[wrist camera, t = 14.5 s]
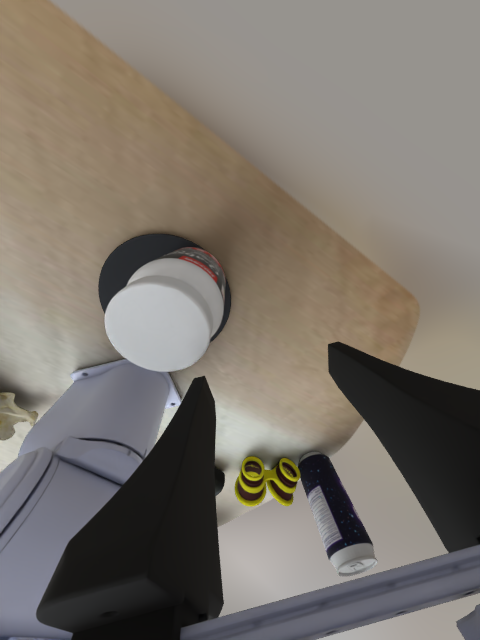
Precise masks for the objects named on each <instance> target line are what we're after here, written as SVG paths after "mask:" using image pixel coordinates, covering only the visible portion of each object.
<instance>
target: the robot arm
mask: <svg viewBox="0 0 480 640" xmlns="http://www.w3.org/2000/svg"><path fill="white" fill-rule="evenodd" d="M328 365H329V373H330V375H331V377H332V378H333V380H334V381H335V383H336V384H337V386H338V388H339V389H340V390H341V391H342V393H343V394H344V395H345V396H346V398H347V399H348V400H349V401H350V402H351V404H352V405H353V406H354V407H355V409H356V410H357V411H358V412H359V413H360V415H361V416H362V417H363V418H364V420H365V421H366V422H367V423H368V425H369V426H370V427H371V429H372V430H373V431H374V432H375V434H376V436H377V437H378V438H379V440H380V441H381V443H382V444H383V446H384V447H385V449H386V450H387V452H388V453H389V455H390V456H391V458H392V460H393V461H394V462H395V464H396V466H397V467H398V469H399V470H400V472H401V473H402V475H403V477H404V478H405V480H406V482H407V483H408V484H409V486H410V488H411V489H412V491H413V493H414V494H415V496H416V498H417V499H418V501H419V503H420V504H421V506H422V508H423V509H424V511H425V513H426V515H427V516H428V518H429V520H430V521H431V523H432V525H433V527H434V528H435V530H436V531H437V533H438V535H439V537H440V539H441V541H442V542H443V544H444V546H445V548H446V549H447V551H448V552H449V553H448V554H444V555H441V556H437V557H433V558H430V559H426V560H423V561H419V562H416V563H412V564H409V565H405V566H401V567H398V568H394V569H390V570H387V571H383V572H380V573H376V574H373V575H369V576H365V577H362V578H358V579H355V580H351V581H347V582H344V583H340V584H337V585H334V586H330V587H326V588H323V589H319V590H315V591H312V592H308V593H304V594H301V595H298V596H294V597H290V598H287V599H283V600H279V601H276V602H272V603H269V604H265V605H261V606H258V607H255V608H251V609H247V610H244V611H240V612H237V613H233V614H229V615H226V616H222V617H218V616H219V614H220V612H221V610H222V607H223V604H224V601H223V591H222V579H221V568H220V557H219V543H218V529H217V514H216V497H215V476H214V461H215V435H216V412H215V401H214V398H213V396H212V393H211V391H210V388H209V385H208V383H207V380H206V378H205V376H202V377H198V378H194V380H193V381H192V383H191V385H190V387H189V389H188V391H187V393H186V395H185V397H184V399H183V401H182V403H181V398H180V396H179V394H178V392H177V390H176V388H175V385H174V383H173V381H172V379H171V377H170V375H169V373H168V372H159V371H153V370H149V369H145V368H143V367H140V366H138V365H136V364H134V363H132V362H130V361H129V360H127V359H123V360H119V361H114V362H110V363H106V364H102V365H98V366H94V367H90V368H85V369H81V370H77V371H74V372H73V373H72V374H71V378H72V379H73V381H74V383H73V384H72V385H71V386H70V387H69V388H68V389H67V391H66V392H65V393H64V394H63V395H62V396H61V397H60V398H59V399H58V400H57V401H56V402H55V404H54V405H53V406H52V407H51V408H50V409H49V410H48V411H47V412H46V413H45V414H44V415H43V416H42V418H41V419H40V420H39V421H38V422H37V423H36V424H35V425H34V426H33V427H32V429H31V430H30V431H29V432H28V434H27V436H26V437H25V439H24V441H23V443H22V445H21V448H20V451H19V454H18V458H17V459H15V460H14V461H13V462H12V463H11V464H9V465H8V466H7V467H6V468H5V469H4V470H3V471H1V472H0V640H316V639H319V638H323V637H326V636H330V635H333V634H336V633H340V632H344V631H347V630H351V629H354V628H358V627H362V626H365V625H369V624H372V623H376V622H379V621H382V620H386V619H390V618H393V617H397V616H400V615H404V614H407V613H410V612H414V611H418V610H421V609H425V608H428V607H432V606H436V605H439V604H443V603H446V602H449V601H453V600H457V599H460V598H463V597H467V596H471V595H474V594H478V593H480V390H476V389H472V388H467V387H464V386H459V385H456V384H452V383H448V382H444V381H441V380H437V379H434V378H431V377H428V376H424V375H421V374H418V373H415V372H412V371H409V370H406V369H403V368H401V367H398V366H396V365H393V364H390V363H388V362H385V361H383V360H380V359H378V358H375V357H373V356H371V355H368V354H366V353H364V352H362V351H359V350H357V349H355V348H353V347H350V346H348V345H346V344H343V343H341V342H335V343H331V344H328ZM86 373H87V374H86ZM178 405H180V406H179V408H178V410H177V412H176V413H175V415H174V417H173V418H172V420H171V422H170V423H169V425H168V426H167V428H166V430H165V431H164V433H163V434H162V436H161V437H160V439H159V440H158V442H157V443H156V444H155V442H156V439H157V435H158V431H159V428H160V424H161V420H162V417H163V413H164V410H165V409H167V408H171V407H175V406H178ZM457 627H458V629H459V630H460V632H461V633H462V635H463V637H464V639H465V640H480V604H479V605H477V606H476V607H475V610H474V611H472V612H471V613H470V614H468V615H467V616H465V617H463V618H462V619H460V620H458V621H457Z"/></svg>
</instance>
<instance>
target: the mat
mask: <svg viewBox="0 0 480 640" xmlns="http://www.w3.org/2000/svg"><path fill="white" fill-rule="evenodd" d="M187 247H193V248H199V249H202V250H204V249H203V248H201V247H200V246H198V245H197V244H195V243H193V242H191V241H189V240H187V239H184V238H182V237H178V236H174V235H168V234H148V235H142V236H139V237H135V238H132V239H130V240H128V241H126V242H124V243H123V244H121V245H120V246H119V247H117V248H116V249H115V250H114V251H113V252H112V253H111V254H110V256H109V257H108V258H107V260H106V261H105V263H104V265H103V267H102V270H101V274H100V278H99V297H100V302H101V305H102V309H103V311H104V313H105V312H106V309H107V306H108V304H109V302H110V301H111V299H112V298H113V297H114V296H115V295H116V294H117V293H118V292H119V291H120V290H122V289H123V288H125V287H126V286H127V283H128V281H129V280H130V278H131V277H132V275H133V274H134V273H135V272H136V271H137V270H138V269H139V268H141V267H142V266H144V265H145V264H147V263H149V262H151V261H153V260H155V259H158V258H160V257H162V256H164V255H167V254H169V253H171V252H173V251H175V250H178V249H181V248H187ZM204 251H205V250H204ZM206 252H207V251H206ZM225 280H226V284H225V300H224V312H223V317H222V321H221V324H220V326H219V328H218V330H217V331H216V333H215V334H214V335H213V336H212V337H211V338H210V342H211V341H213V340H214V339H215V338H216V337H217V336H218V335H219V333H220V332H221V331H222V329H223V328H224V326H225V324H226V322H227V319H228V317H229V313H230V307H231V295H230V289H229V285H228V282H227V279H226V277H225ZM210 342H209V343H210Z"/></svg>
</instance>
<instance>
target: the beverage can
mask: <svg viewBox="0 0 480 640" xmlns="http://www.w3.org/2000/svg"><path fill="white" fill-rule="evenodd" d="M298 469H299V471H300V478H301V481H302V484H303V487H304V489H305V492H306V495H307V498H308V501H309V504H310V506H311V509H312V512H313V515H314V518H315V521H316V523H317V527H318V529H319V532H320V535H321V538H322V541H323V544H324V546H325V549H326V552H327V555H328V558H329V560H330V561H331V563H332V564H333V565H334V566H335V568H336V570H337V573H338V575H339V576H352V575H356V574H360V573H362V572H365V571H367V570H369V569H371V568H373V567H374V566H375V565H376V564H377V559H376V558H375V555H374V549H373V544H372V542H371V540H370V538H369V536H368V534H367V532H366V530H365V528H364V526H363V524H362V522H361V520H360V518H359V516H358V514H357V512H356V510H355V508H354V506H353V504H352V502H351V500H350V498H349V496H348V495H347V492H346V490H345V489H344V486H343V485H342V483H341V481H340V479H339V477H338V475H337V473H336V471H335V469H334V467H333V465H332V463H331V461H330V459H329V457H327V456H326V455H323V454H322V453H320V452H310V453H307V454H305V455H304V456H303V457H302V458H301V459H300V463H299V465H298Z"/></svg>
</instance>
